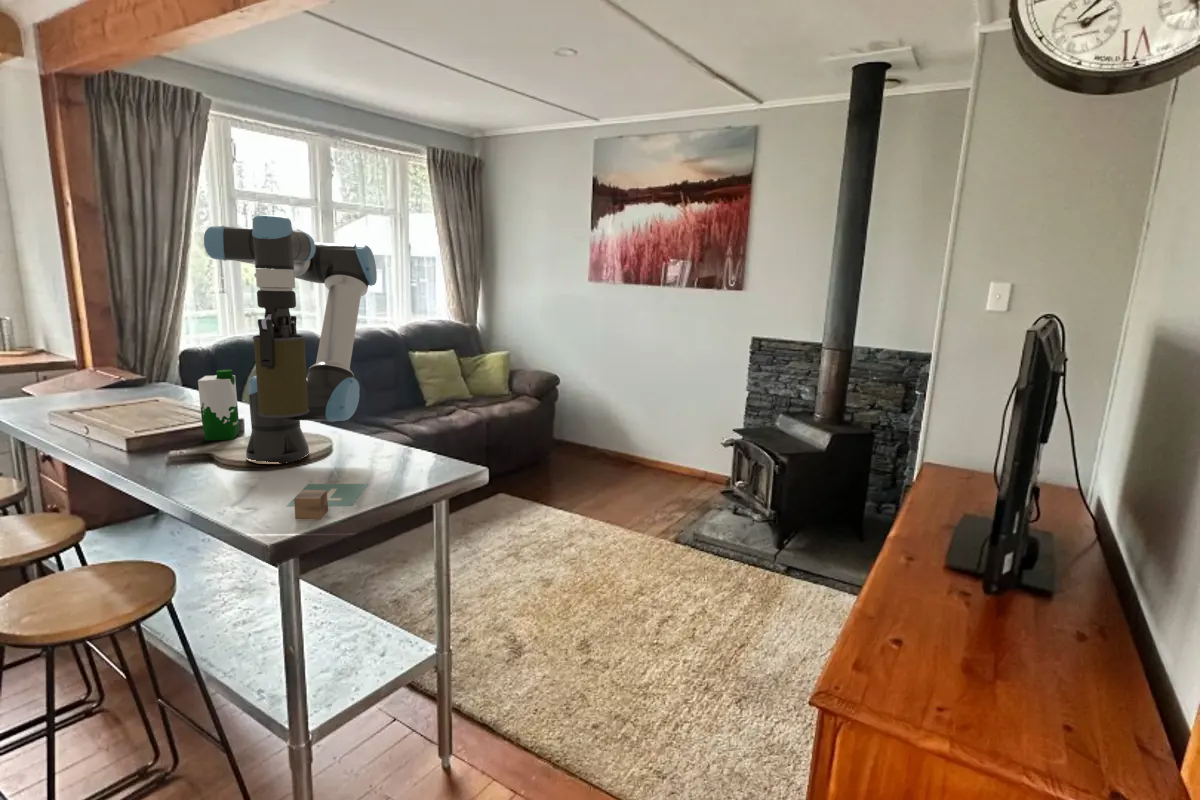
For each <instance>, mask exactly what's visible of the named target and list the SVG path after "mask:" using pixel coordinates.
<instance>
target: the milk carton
mask: <svg viewBox="0 0 1200 800" xmlns="http://www.w3.org/2000/svg"><path fill="white" fill-rule="evenodd" d="M215 372H216V374H215V375H204V376H203V377H201V378H199V379H198V380H197V385H198V394H199V396H198V397H199V405H200V416H201V423H202V429H203V434H204V439H205V441H206V442H207V441H208V442H209V441H226V440H227V441H228V440H229V441H230V440H231V441H232V440H234V439H235V438H236V437H237V436H238V435H239V431H240V429H239V427H240V426H239V423H240V421H239V419H240V418H239V408H238V407H239V406H238V397H237V386H236V385H237V384H236V375H234V374H233V370H232V369H227V368H225V369H218V370H216V371H215Z"/></svg>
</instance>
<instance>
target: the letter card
mask: <svg viewBox="0 0 1200 800" xmlns="http://www.w3.org/2000/svg"><path fill="white" fill-rule="evenodd" d="M367 487H369V483H308V484H306V486H304V488H303V489H302V490H327V500H328V507H353V506H354V505H355V503H357V501H358V499H359V498H360V497H361V495H362V494H363V493H364V491H365V490H366V488H367ZM286 507H295V506H294V498H292V500H291V501H289V502H288V504H286Z"/></svg>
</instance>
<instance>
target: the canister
mask: <svg viewBox="0 0 1200 800" xmlns="http://www.w3.org/2000/svg"><path fill="white" fill-rule="evenodd" d="M278 328H279V327H278ZM283 328H284V334H283V337H281V338H280V339H279V338H274V357H275V364H274V370H271V369H267V367H266V366H265V367H261V364H260V335H259V334H256V335H253V336H252V340H253V347H254V361H255V362H254V363H255V374H256V375H255V376H256V377H257V392H258V406H259V411H258V415H259V416H261V417H269V418H285V417H296V416H301V415H304V414H307V413H308V412H309V409H308V395H307V360H306V342H305V341H306V336H305V335H302V334H297V335H295V334H291V338H289V334H290V333H289V328H288V325H285V326H283ZM274 333H278V332H274ZM275 365H276V366H275Z"/></svg>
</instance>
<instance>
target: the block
mask: <svg viewBox="0 0 1200 800" xmlns="http://www.w3.org/2000/svg"><path fill="white" fill-rule="evenodd" d="M293 499H294V506H293V507H294V519H315V520H322V518H323V517H324V516H325V515H326V514H327V512H328V510H329V506H328V500H327V490H303V489H302V490H301V491H299V492H298V493H297V494H296V496H295V497H294V498H293Z"/></svg>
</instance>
